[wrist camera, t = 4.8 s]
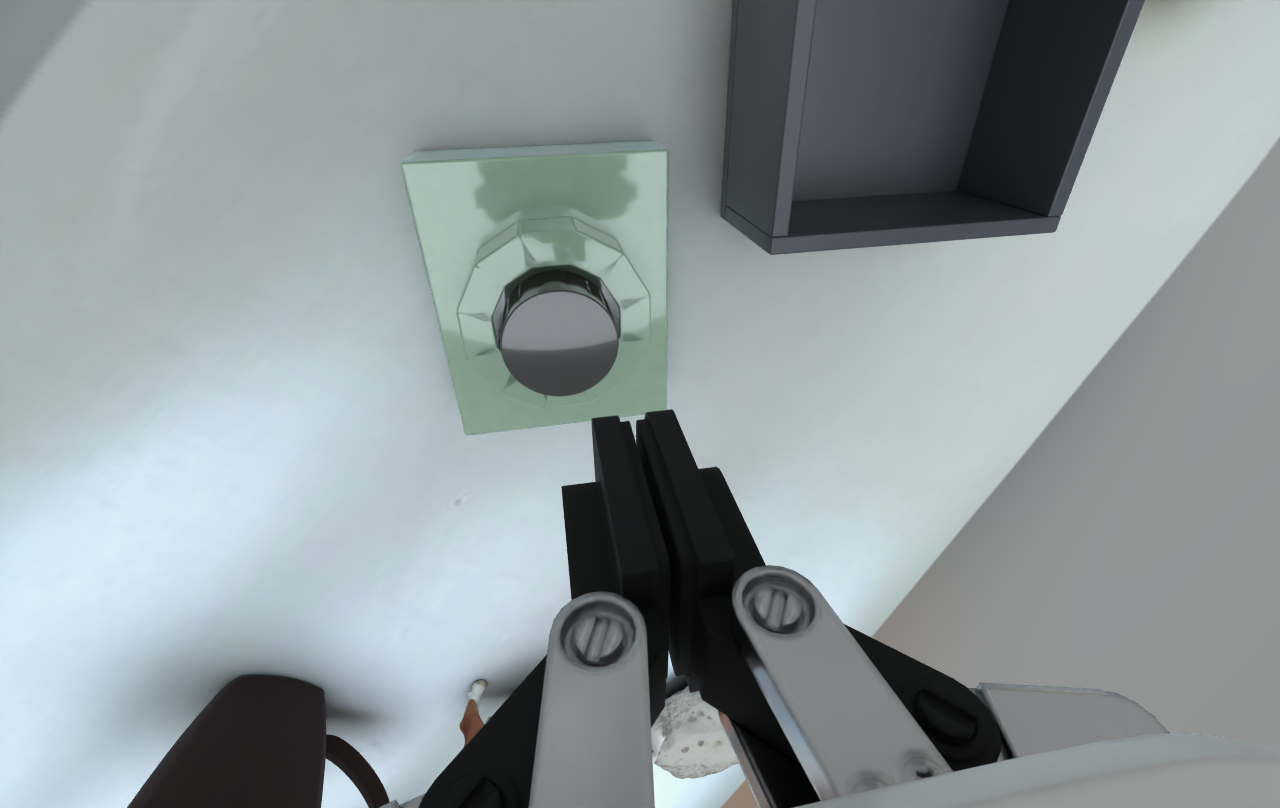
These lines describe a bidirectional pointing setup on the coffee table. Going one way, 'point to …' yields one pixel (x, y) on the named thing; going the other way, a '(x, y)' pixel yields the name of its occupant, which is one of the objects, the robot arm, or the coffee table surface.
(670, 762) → the decorative stone
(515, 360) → the button top
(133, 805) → the mug
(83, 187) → the coffee table surface
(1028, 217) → the bin
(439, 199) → the push button base
